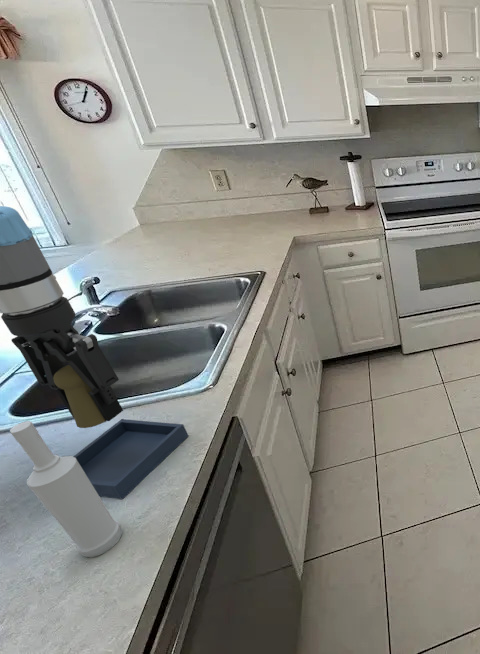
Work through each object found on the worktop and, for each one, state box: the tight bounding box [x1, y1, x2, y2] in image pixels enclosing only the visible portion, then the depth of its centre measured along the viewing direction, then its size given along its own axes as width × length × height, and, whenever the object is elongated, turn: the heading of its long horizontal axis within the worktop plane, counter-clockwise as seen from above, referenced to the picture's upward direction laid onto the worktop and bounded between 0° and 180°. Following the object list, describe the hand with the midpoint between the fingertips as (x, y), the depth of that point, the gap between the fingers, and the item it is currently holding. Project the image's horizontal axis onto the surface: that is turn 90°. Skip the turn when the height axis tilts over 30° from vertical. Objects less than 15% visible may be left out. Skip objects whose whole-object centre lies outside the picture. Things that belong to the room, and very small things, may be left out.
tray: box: [72, 418, 189, 500], centre depth 80 cm, size 15×15×3 cm
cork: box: [53, 364, 107, 429], centre depth 73 cm, size 6×6×11 cm
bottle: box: [9, 420, 123, 558], centre depth 61 cm, size 5×5×25 cm
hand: (98, 414), depth 75 cm, fingers closed on cork, 6 cm apart
